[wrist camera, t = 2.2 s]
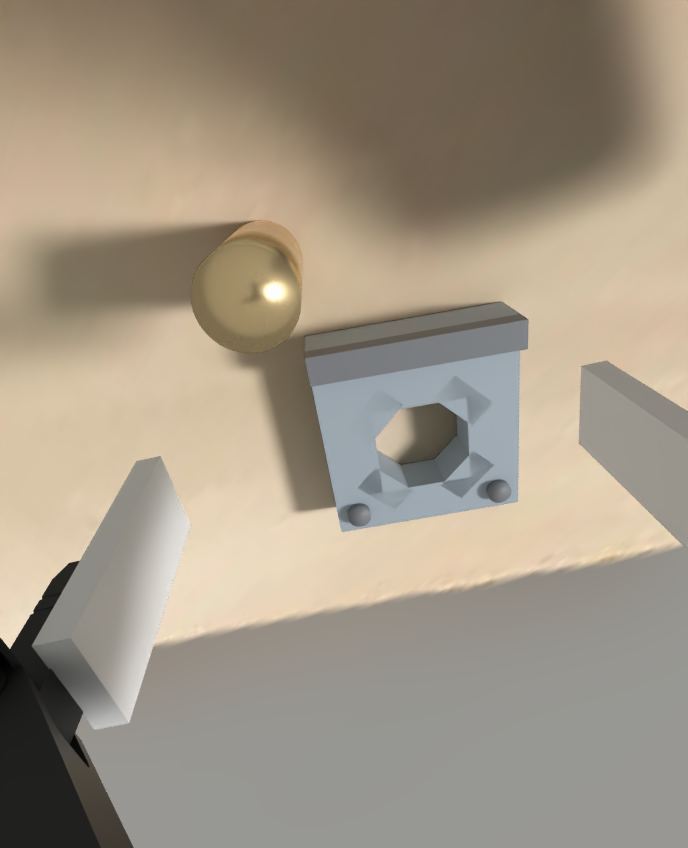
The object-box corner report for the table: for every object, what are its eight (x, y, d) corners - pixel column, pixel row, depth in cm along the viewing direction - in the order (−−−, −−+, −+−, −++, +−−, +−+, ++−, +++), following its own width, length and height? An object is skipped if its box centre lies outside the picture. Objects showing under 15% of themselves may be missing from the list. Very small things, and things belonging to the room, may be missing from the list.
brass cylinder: (215, 227, 29) (176, 254, 20) (293, 213, 28) (288, 234, 20) (236, 305, 31) (208, 361, 22) (308, 292, 31) (310, 343, 22)
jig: (304, 336, 32) (304, 358, 28) (502, 301, 32) (528, 319, 28) (339, 506, 38) (342, 543, 35) (503, 478, 38) (524, 512, 35)
